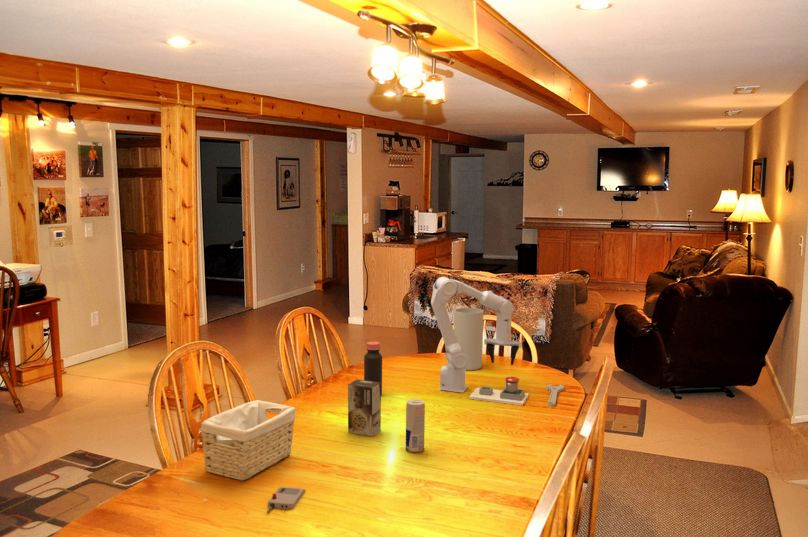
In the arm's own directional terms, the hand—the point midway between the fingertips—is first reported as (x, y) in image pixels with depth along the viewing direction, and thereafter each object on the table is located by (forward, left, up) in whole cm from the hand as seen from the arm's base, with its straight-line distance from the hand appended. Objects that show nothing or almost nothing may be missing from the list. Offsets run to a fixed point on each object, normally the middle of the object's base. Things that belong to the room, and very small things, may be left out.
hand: (502, 363), depth 271 cm
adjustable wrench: (+20, -4, -10) cm, 23 cm away
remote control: (-30, -116, -10) cm, 121 cm away
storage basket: (-51, -100, -10) cm, 113 cm away
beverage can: (-11, -73, -10) cm, 74 cm away
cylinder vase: (-20, +23, -10) cm, 32 cm away
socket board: (+2, -14, -9) cm, 17 cm away
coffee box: (-31, -65, -10) cm, 73 cm away
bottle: (-43, -29, -10) cm, 53 cm away
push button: (+7, -15, -8) cm, 18 cm away
